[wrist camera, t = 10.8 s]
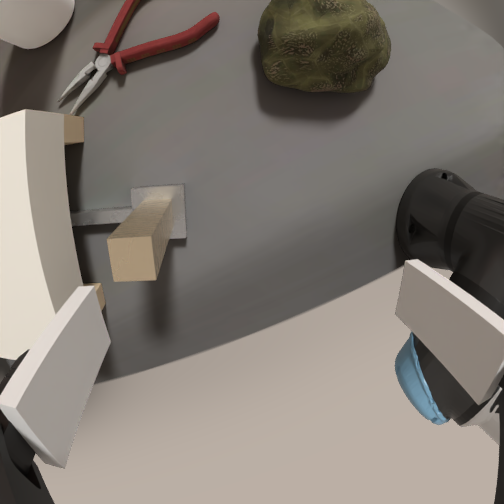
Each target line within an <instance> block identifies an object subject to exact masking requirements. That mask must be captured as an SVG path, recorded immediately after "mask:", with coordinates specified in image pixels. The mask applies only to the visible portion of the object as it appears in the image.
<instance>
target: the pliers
mask: <svg viewBox="0 0 504 504" xmlns="http://www.w3.org/2000/svg"><path fill="white" fill-rule="evenodd" d="M140 1H141V0H126V1H125V3H124V4H123V6H122V8H121V10H120V12H119V14H118V16H117V18H116V20H115V22H114V24H113V26H112V28H111V30H110V32H109V34H108V36H107V38H106V40H105V43H95V44H94V46H93V49H94V50H95V51H97V52H99V53H100V55H99V57H98V58H97V59H96V61H95V63H94V62H91V63H89V64H88V65H87V66H86V67H85V68H84V69H83V70H81V71H80V73H79V74H78V75H77V76H76V77H75V79H74V80H73V81H72V82H71V84H70V85H69V86H68V88H67V89H66V90H65V92H64V93H63V94H62V96H61V97H60V98H59V100H58V101H57V102H60V101H61V100H62V99H63V98H65V97H66V96H67V95H68V94H70V93H71V92H72V91H73V90H75V89H76V88H77V87H79V86H80V85H81V84H82V83H84V82H85V81H86V80H87V79H89V78H90V77H91V76H90V73H91V72H92V71H93V70H94V69H97V70H98V71H97V72H96V74H95V75H94V77H93V78H92V79H90V80H89V82H88V83H87V85H86V86H85V88H84V89H83V91H82V93H81V95H80V96H79V98H78V100H77V102H76V103H75V105H74V107H73V109H72V111H71V113H70V115H72V114H73V113H74V112H75V111H76V110H77V109H78V108H79V106H80V105H81V104H82V103H83V102H84V101H85V100H86V99H87V98H88V97H89V96H90V95H91V94H92V93H93V92H94V91H95V90H96V89H97V88H98V87H99V86H100V85H101V83H102V82H103V81H104V79H105V78H106V77H107V75H106V73H107V72H108V71H110V70H112V69H113V68H114V67H115V68H117V71H118V72H119V73H120V74H121V75H123V74H126V73H127V71H126V66H125V64H128V63H131V62H134V61H137V60H140V59H143V58H146V57H149V56H153V55H156V54H159V53H163V52H167V51H170V50H174V49H178V48H181V47H183V46H186V45H189V44H191V43H193V42H195V41H197V40H198V39H199V38H201V37H202V36H203V35H204V34H206V33H207V32H208V31H209V30H211V29H212V28H213V27H215V26H216V25H217V24H218V22H219V15H218V14H217V13H216V12H213V13H211V14H209V15H208V16H207V17H205V18H204V19H202V20H201V21H200V22H198V23H197V24H196V25H194V26H193V27H191V28H190V29H188V30H186V31H184V32H181V33H178V34H176V35H172V36H169V37H165V38H161V39H158V40H154V41H151V42H147V43H144V44H141V45H138V46H135V47H132V48H129V49H126V50H123V51H119V52H116V53H114V52H115V49H116V47H117V45H118V43H119V41H120V38H121V36H122V34H123V32H124V30H125V28H126V26H127V24H128V22H129V20H130V18H131V16H132V14H133V12H134V10H135V8H136V7H137V5H138V4H139V3H140Z"/></svg>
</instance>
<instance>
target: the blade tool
mask: <svg viewBox="0 0 504 504" xmlns="http://www.w3.org/2000/svg"><path fill="white" fill-rule="evenodd" d="M131 200H132V206H128V207H115V208H103V209H92V210H82V211H72V212H70V218H71V224H72V226H82V225H95V224H108V223H121V224H120V225H119V226H118V227H117V228H116V230H115V231H114V232H113V233H112V234H111V235H110V236H109V237H108V238H107V244H108V250H109V256H110V262H111V268H112V274H113V279H114V282H119V281H148V280H157V276H158V273H159V270H160V266H161V263H162V260H163V257H164V254H165V250H166V247H167V244H168V241H169V239H176V238H186V237H187V226H186V206H185V184H168V185H152V186H139V187H133V188H131Z"/></svg>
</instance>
